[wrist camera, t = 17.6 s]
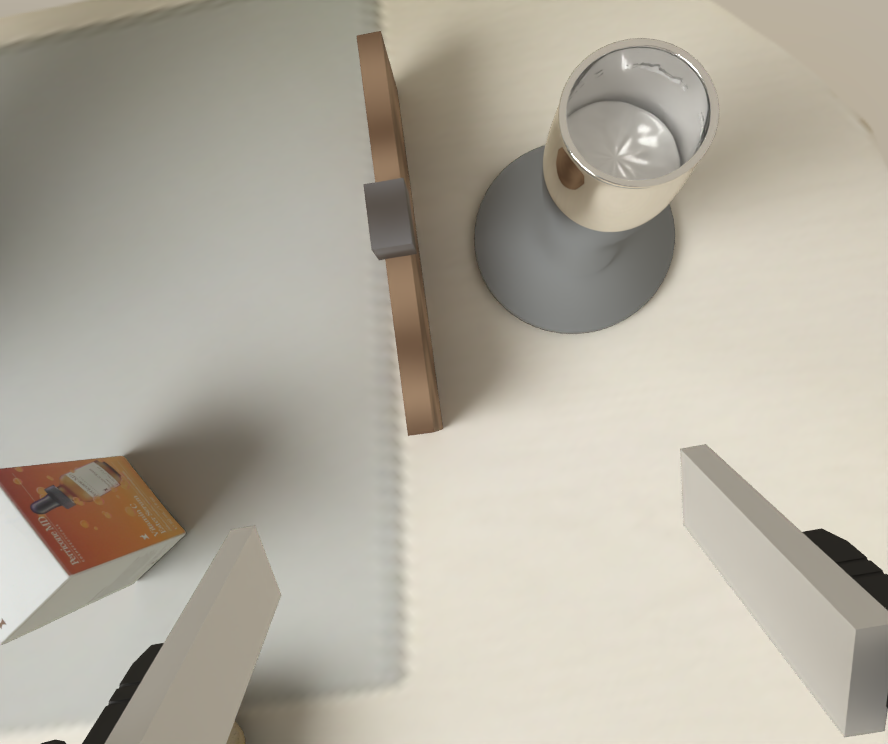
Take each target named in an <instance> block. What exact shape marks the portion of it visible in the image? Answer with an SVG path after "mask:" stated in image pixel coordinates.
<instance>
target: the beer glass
mask: <svg viewBox="0 0 888 744" xmlns="http://www.w3.org/2000/svg"><path fill="white" fill-rule="evenodd" d="M718 120H719V102H718V97H717V93H716V89H715V87H714V84H713V82H712V80H711V78H710V76H709V74H708V73H707V71H706V70H705V69H704V67H703V66H702V65H701V64H700V63H699V62H698V61H697V60H696V59H695V58H694V57H693V56H692V55H690V54H689V53H688V52H686V51H684V50H683V49H681V48H679V47H677V46H675V45H673V44H670V43H667V42H664V41H660V40H655V39H646V38H636V39H627V40H622V41H618V42H614V43H611V44H609V45H606V46H604V47H602V48H600V49H598V50H597V51H595V52H593V53H592V54H591V55H589V56H588V57H587V58H585V59H584V60H583V61H582V62H581V63H580V64H579V65H578V66H577V67H576V69H575V70H574V71H573V73H572V74H571V75H570V77H569V79H568V80H567V82H566V84H565V86H564V89H563V91H562V94H561V98H560V103H559V105H558V108H557V110H556V113H555V116H554V119H553V121H552V124H551V127H550V130H549V134H548V137H547V141H546V145H545V149H544V154H543V161H542V168H541V186H542V197H543V203H544V208H543V209H542V210H541V212H540V213H539V215H538V217H537V219H536V222H535V225H534V231H533V240H534V245H535V249H536V251H537V254H538V255H539V257H540V259H541V260H542V261H543V263H544V264H545V265H546V266H547V267H549V268H550V269H551V270H553V271H555V272H556V273H559V274H561V275H564V276H569V277H584V276H588V275H592V274H594V273H596V272H598V271H600V270H602V269H603V268H604V267H606V266H607V265H608V264H609V263H610V262H611V261H612V259H613V258H614V256H615V255H616V253H617V251H618V249H619V246H620V243H621V241H622V240H624V239H626V238H627V237H629V236H631V235H633V234H634V233H636V232H637V231H639V230H640V229H642V228H643V227H644V226H646V225H647V224H649V223H650V222H651V221H652V220H654V219H655V218H656V217H657V216H658V215H659V214H660V213H661V212H662V211H663V210H664V209H665V208H666V207H667V206H668V204H669V203H670V202H671V201H672V200H673V198H674V197H675V196H676V195H677V193H678V192H679V191H680V189H681V188H682V187H683V185H684V184H685V182H686V181H687V179H688V178H689V176H690V175H691V173H692V172H693V170H694V169H695V167H696V165H697V164H698V162H699V161H700V160H701V158H702V157H703V156H704V155H705V153H706V152H707V150H708V149H709V147H710V145H711V143H712V141H713V139H714V136H715V133H716V130H717V126H718Z"/></svg>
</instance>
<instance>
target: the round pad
mask: <svg viewBox="0 0 888 744" xmlns="http://www.w3.org/2000/svg"><path fill="white" fill-rule="evenodd" d="M544 149H545V145H544V146H541V147H539V148H536V149H533V150H531V151H530V152H528V153H526V154H524V155H522V156H520V157H519V158H518V159H516V160H515V161H513V162H512V163H511V164H509V165H508V166H507V167H506V168H505V169H504V170H503V171H502V172H501V173H500V174H499V175H498V176H497V178H496V179H495V180H494V181H493V183H492V184H491V186H490V187H489V189H488V190H487V192H486V194H485V196H484V198H483V200H482V202H481V205H480V208H479V211H478V214H477V219H476V225H475V238H474V239H475V252H476V257H477V262H478V266H479V269H480V272H481V274H482V277H483V279H484V281H485V283H486V285H487V287H488V288H489V290H490V291H491V293H492V294H493V295H494V297H495V298H496V299H497V300H498V301H499V302H500V304H501V305H502V306H503V307H504V308H505V309H507V310H508V311H509V312H510V313H512V314H513V315H514V316H516V317H517V318H519V319H520V320H522V321H524V322H526V323H528V324H530V325H532V326H534V327H537V328H540V329H543V330H547V331H551V332H557V333H566V334H579V333H589V332H593V331H598V330H602V329H605V328H607V327H610V326H613V325H615V324H617V323H619V322H621V321H623V320H625V319H626V318H628V317H629V316H631V315H632V314H633V313H635V312H636V311H638V310H639V309H640V308H641V307H642V306H643V305H645V304H646V303H647V302H648V301H649V299H650V298H651V297H652V296H653V295H654V294H655V293H656V291H657V290H658V288H659V286H660V285H661V283H662V282H663V280H664V278H665V276H666V274H667V272H668V269H669V266H670V263H671V260H672V256H673V250H674V244H675V229H674V220H673V215H672V211H671V208H670V205H669V204H668V206H667V207H666V208H665V209H664V210H663V211H662V212H661V213H660V214H659V215H658V216H657V217H656V218H655V219H654V220H652V221H651V222H650V223H649V224H647V225H646V226H644V227H643V228H642V229H640V230H639V231H637V232H636V233H634V234H633V235H631V236H629V237H627V238H626V239H624V240H622V241H621V243H620V246H619V249H618V251H617V253H616V255H615V256H614V258H613V259H612V261H611V262H610V263H609V264H608V265H607V266H606V267H604V268H603V269H602V270H600V271H598V272H596V273H594V274H592V275H588V276H584V277H569V276H564V275H561V274H559V273H556V272H555V271H553V270H551V269H550V268H549V267H547V266H546V265H545V264H544V263H543V261H542V260H541V259H540V257H539V255H538V254H537V251H536V249H535V245H534V240H533V231H534V225H535V222H536V219H537V217H538V215H539V213H540V212H541V210H542V209H543V208H544V203H543V197H542V186H541V168H542V161H543V154H544Z"/></svg>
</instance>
